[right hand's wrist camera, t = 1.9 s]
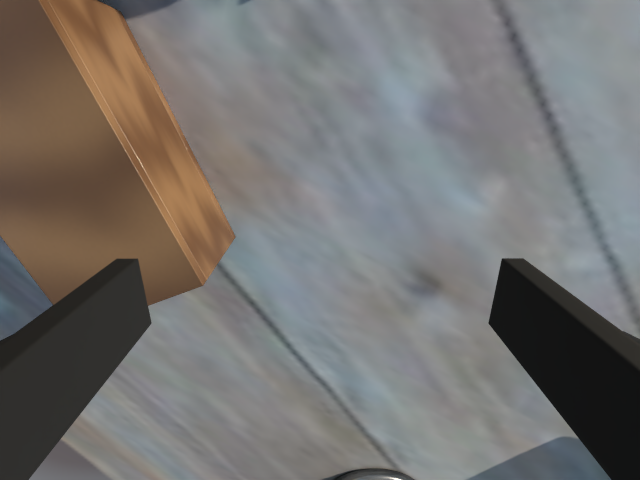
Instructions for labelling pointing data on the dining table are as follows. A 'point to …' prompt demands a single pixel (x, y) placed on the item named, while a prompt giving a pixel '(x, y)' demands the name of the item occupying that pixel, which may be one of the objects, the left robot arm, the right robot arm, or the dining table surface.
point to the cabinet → (96, 156)
